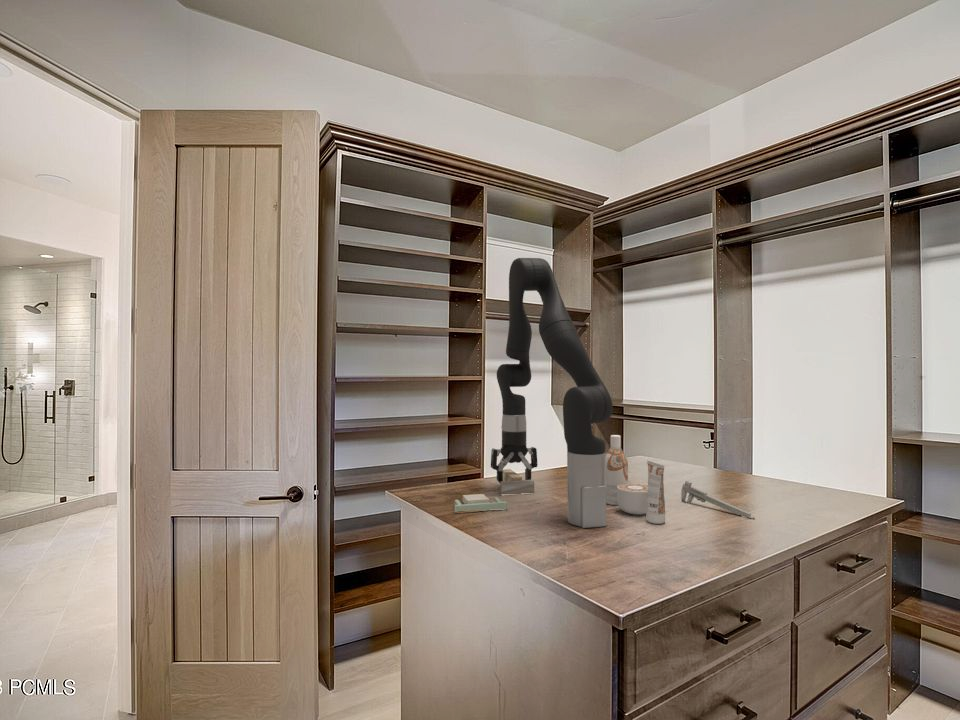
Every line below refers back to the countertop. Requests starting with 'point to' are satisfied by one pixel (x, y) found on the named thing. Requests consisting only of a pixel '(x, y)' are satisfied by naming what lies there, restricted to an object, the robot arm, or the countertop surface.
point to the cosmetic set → (634, 486)
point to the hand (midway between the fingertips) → (514, 482)
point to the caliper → (709, 499)
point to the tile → (475, 499)
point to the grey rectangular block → (515, 483)
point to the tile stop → (480, 505)
